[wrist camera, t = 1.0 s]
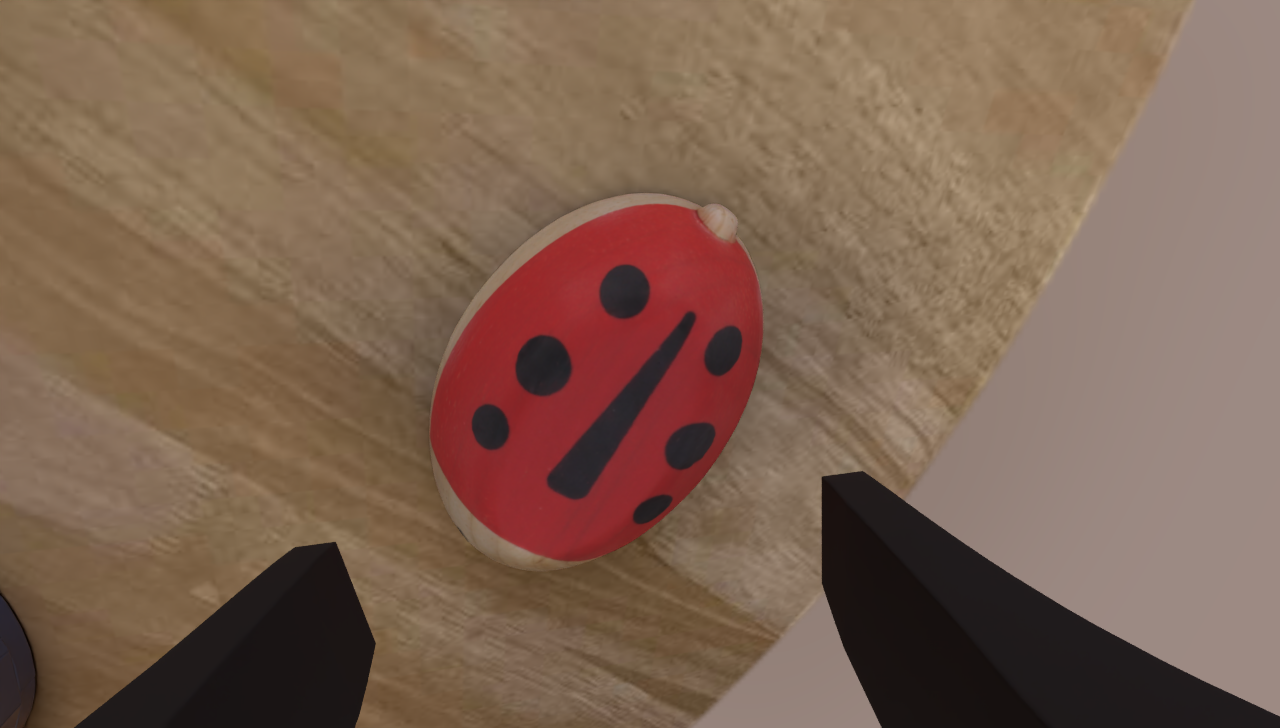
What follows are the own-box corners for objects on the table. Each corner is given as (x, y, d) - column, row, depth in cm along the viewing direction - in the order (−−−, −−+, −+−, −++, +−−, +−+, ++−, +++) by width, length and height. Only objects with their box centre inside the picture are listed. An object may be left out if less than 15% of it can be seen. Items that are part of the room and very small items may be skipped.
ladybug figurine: (385, 467, 17) (335, 563, 13) (566, 106, 13) (557, 118, 10) (615, 562, 18) (619, 667, 15) (825, 262, 15) (887, 314, 12)
